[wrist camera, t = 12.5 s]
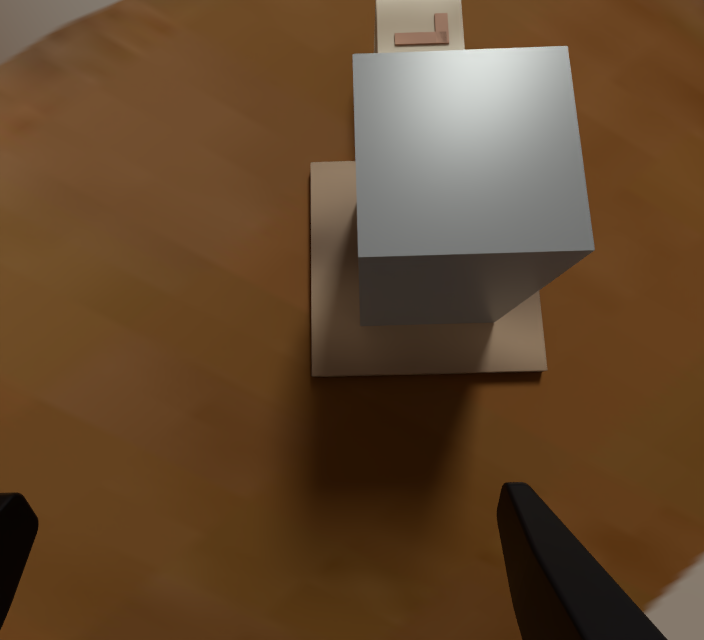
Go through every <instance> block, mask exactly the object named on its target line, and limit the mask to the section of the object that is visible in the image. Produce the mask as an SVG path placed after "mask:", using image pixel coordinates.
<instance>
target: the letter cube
mask: <svg viewBox="0 0 704 640" xmlns="http://www.w3.org/2000/svg"><path fill="white" fill-rule="evenodd" d="M448 50H465V49H464V35H463V21H462V8H461V0H376V5H375V37H374V53H394V52H421V51H448Z"/></svg>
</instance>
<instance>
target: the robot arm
mask: <svg viewBox="0 0 704 640" xmlns="http://www.w3.org/2000/svg"><path fill="white" fill-rule="evenodd" d="M497 522H498V528H499V533H500V539H501V544H502V550H503V555H504V560H505V566H506V571H507V577H508V582H509V587H510V593H511V598H512V603H513V607H514V611H515V615H516V619H517V622H518V626H519V629H520V633H521V636H522V639H523V640H667V639H666V637H664V635H663V634H662V633H661V632H660V631H659V630H658V629H657V627H656V626H655V625H654V624H653V623H652V622H651V621H650V620H649V618H648V617H647V616H646V615H645V614H644V613H643V612H642V611H641V610H640V608H639V607H638V606H637V605H636V604H635V603H634V602H633V601H632V600H631V598H630V597H629V596H628V595H627V594H626V593H625V592H624V591H623V590H622V588H621V587H620V586H619V585H618V584H617V583H616V582H615V581H614V579H613V578H612V577H611V576H610V575H609V574H608V573H607V572H606V571H605V569H604V568H603V567H602V566H601V565H600V564H599V563H598V562H597V561H596V559H595V558H594V557H593V556H592V555H591V554H590V553H589V552H588V551H587V549H586V548H585V547H584V546H583V545H582V544H581V543H580V542H579V540H578V539H577V538H576V537H575V536H574V535H573V534H572V533H571V532H570V530H569V529H568V528H567V527H566V526H565V525H564V524H563V523H562V522H561V520H560V519H559V518H558V517H557V516H556V515H555V514H554V513H553V512H552V510H551V509H550V508H549V507H548V506H547V505H546V504H545V503H544V501H543V500H542V499H541V498H540V497H539V496H538V495H537V494H536V493H535V491H534V490H533V489H532V488H531V487H530V486H529V485H528V484H526V483H524V482H507V483H504V484H503V486H502V489H501V493H500V498H499V502H498V507H497ZM37 531H38V518H37V516H36V514H35V513H34V511H33V510H32V508H31V507H30V505H29V504H28V502H27V500H26V499H25V497H24V496H23V495H22V494H20V493H0V629H1V627H2V625H3V623H4V620H5V618H6V616H7V613H8V611H9V608H10V606H11V603H12V601H13V598H14V595H15V592H16V590H17V587H18V584H19V581H20V578H21V576H22V573H23V570H24V567H25V565H26V562H27V559H28V556H29V553H30V551H31V548H32V545H33V542H34V540H35V537H36V534H37Z"/></svg>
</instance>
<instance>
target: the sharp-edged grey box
mask: <svg viewBox="0 0 704 640" xmlns="http://www.w3.org/2000/svg"><path fill="white" fill-rule="evenodd" d="M353 86H354V122H355V159H356V195H357V231H358V266H359V300H360V326H384V325H420V324H457V323H493V322H496V321H497V320H499V319H500V318H501V317H503V316H504V315H506V314H507V313H508V312H510V311H511V310H512V309H514V308H515V307H517V306H518V305H519V304H521V303H522V302H524V301H525V300H526V299H528V298H529V297H530V296H532V295H533V294H535V293H536V292H537V291H539V290H540V289H542V288H543V287H544V286H546V285H547V284H548V283H550V282H551V281H553V280H554V279H555V278H557V277H558V276H560V275H561V274H562V273H564V272H565V271H566V270H568V269H569V268H571V267H572V266H573V265H575V264H576V263H578V262H579V261H580V260H582V259H583V258H584V257H586V256H587V255H589V254H590V253H591V252H593V251H594V250H595V249H594V242H593V234H592V226H591V219H590V211H589V204H588V196H587V189H586V181H585V174H584V166H583V159H582V151H581V144H580V136H579V129H578V121H577V114H576V106H575V99H574V91H573V84H572V76H571V69H570V61H569V54H568V46H554V47H528V48H501V49H474V50H448V51H421V52H394V53H368V54H353Z"/></svg>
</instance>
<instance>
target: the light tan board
mask: <svg viewBox="0 0 704 640" xmlns="http://www.w3.org/2000/svg"><path fill="white" fill-rule="evenodd" d="M311 323H312V377H335V376H376V375H418V374H459V373H500V372H541V371H546V370H547V362H546V353H545V343H544V334H543V324H542V315H541V305H540V296H539V291H537V292H536V293H535V294H533V295H532V296H530V297H529V298H528V299H526V300H525V301H524V302H522V303H521V304H519V305H518V306H517V307H515V308H514V309H512V310H511V311H510V312H508V313H507V314H506V315H504V316H503V317H501V318H500V319H499V320H497V321H496V322H493V323H457V324H420V325H384V326H360V300H359V266H358V231H357V195H356V161H341V162H311Z"/></svg>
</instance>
